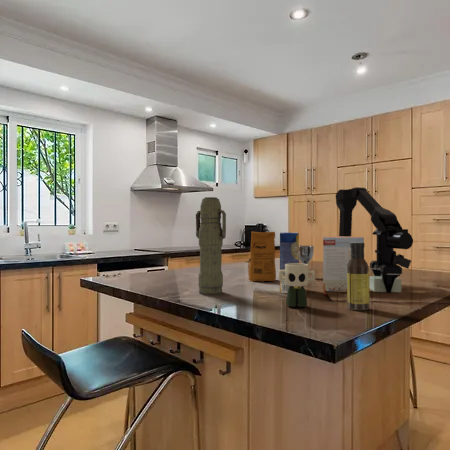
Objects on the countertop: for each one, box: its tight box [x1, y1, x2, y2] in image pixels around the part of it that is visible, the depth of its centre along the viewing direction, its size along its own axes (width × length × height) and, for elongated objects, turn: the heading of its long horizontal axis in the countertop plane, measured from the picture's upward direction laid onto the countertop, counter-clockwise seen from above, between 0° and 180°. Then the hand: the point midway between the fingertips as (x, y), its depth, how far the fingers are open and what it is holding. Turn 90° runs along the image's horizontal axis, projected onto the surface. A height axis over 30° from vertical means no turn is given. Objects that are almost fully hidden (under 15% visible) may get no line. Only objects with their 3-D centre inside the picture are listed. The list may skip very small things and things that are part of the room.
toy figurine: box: [278, 262, 316, 308], centre depth 116 cm, size 11×7×13 cm, turn 81°
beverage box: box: [279, 232, 300, 294], centre depth 144 cm, size 7×11×22 cm, turn 170°
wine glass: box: [299, 245, 315, 278], centre depth 179 cm, size 8×8×15 cm
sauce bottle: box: [346, 242, 371, 312], centre depth 113 cm, size 6×6×20 cm
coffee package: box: [247, 231, 277, 282], centre depth 171 cm, size 10×12×22 cm
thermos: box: [195, 196, 227, 296], centre depth 140 cm, size 9×12×35 cm
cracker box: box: [322, 235, 365, 296], centre depth 137 cm, size 14×6×21 cm, turn 74°
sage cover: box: [369, 275, 402, 293], centre depth 137 cm, size 9×7×6 cm
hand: (384, 290), depth 137 cm, fingers open, 9 cm apart
